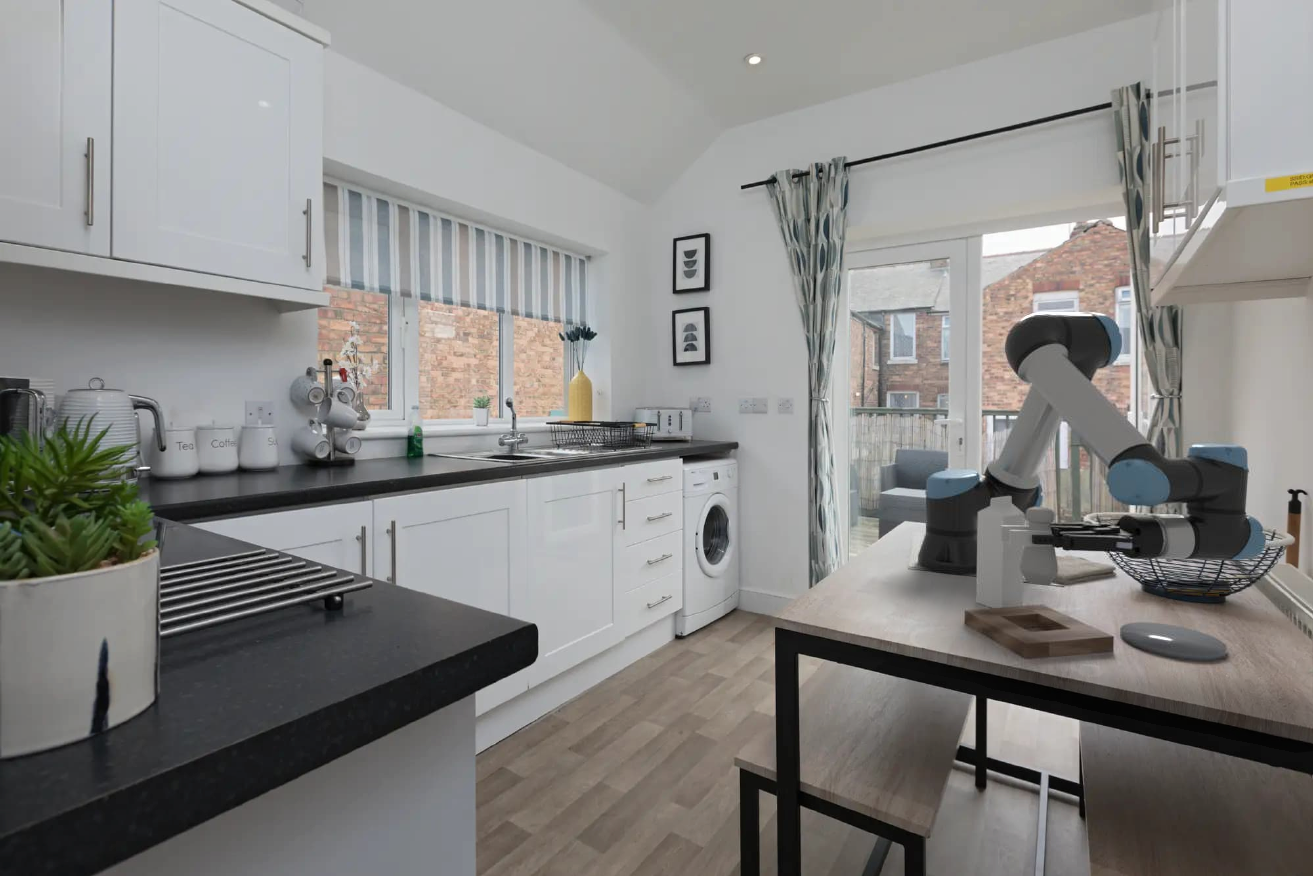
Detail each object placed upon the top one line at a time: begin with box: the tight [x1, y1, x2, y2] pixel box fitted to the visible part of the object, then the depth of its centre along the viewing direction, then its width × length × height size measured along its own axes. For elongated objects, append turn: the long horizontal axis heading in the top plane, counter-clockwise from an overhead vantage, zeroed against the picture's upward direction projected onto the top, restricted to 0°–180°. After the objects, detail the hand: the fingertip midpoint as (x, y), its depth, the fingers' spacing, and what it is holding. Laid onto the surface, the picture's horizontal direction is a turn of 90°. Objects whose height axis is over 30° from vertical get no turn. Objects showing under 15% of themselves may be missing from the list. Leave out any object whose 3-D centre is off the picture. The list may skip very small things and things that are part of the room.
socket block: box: [964, 604, 1115, 660], centre depth 112 cm, size 16×16×2 cm
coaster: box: [1119, 621, 1228, 662], centre depth 108 cm, size 14×14×1 cm
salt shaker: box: [1020, 506, 1058, 586], centre depth 111 cm, size 6×6×13 cm
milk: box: [975, 496, 1025, 608], centre depth 128 cm, size 6×6×22 cm
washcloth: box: [1053, 555, 1117, 585], centre depth 149 cm, size 12×18×3 cm, turn 112°
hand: (1006, 535), depth 111 cm, fingers closed on salt shaker, 3 cm apart
